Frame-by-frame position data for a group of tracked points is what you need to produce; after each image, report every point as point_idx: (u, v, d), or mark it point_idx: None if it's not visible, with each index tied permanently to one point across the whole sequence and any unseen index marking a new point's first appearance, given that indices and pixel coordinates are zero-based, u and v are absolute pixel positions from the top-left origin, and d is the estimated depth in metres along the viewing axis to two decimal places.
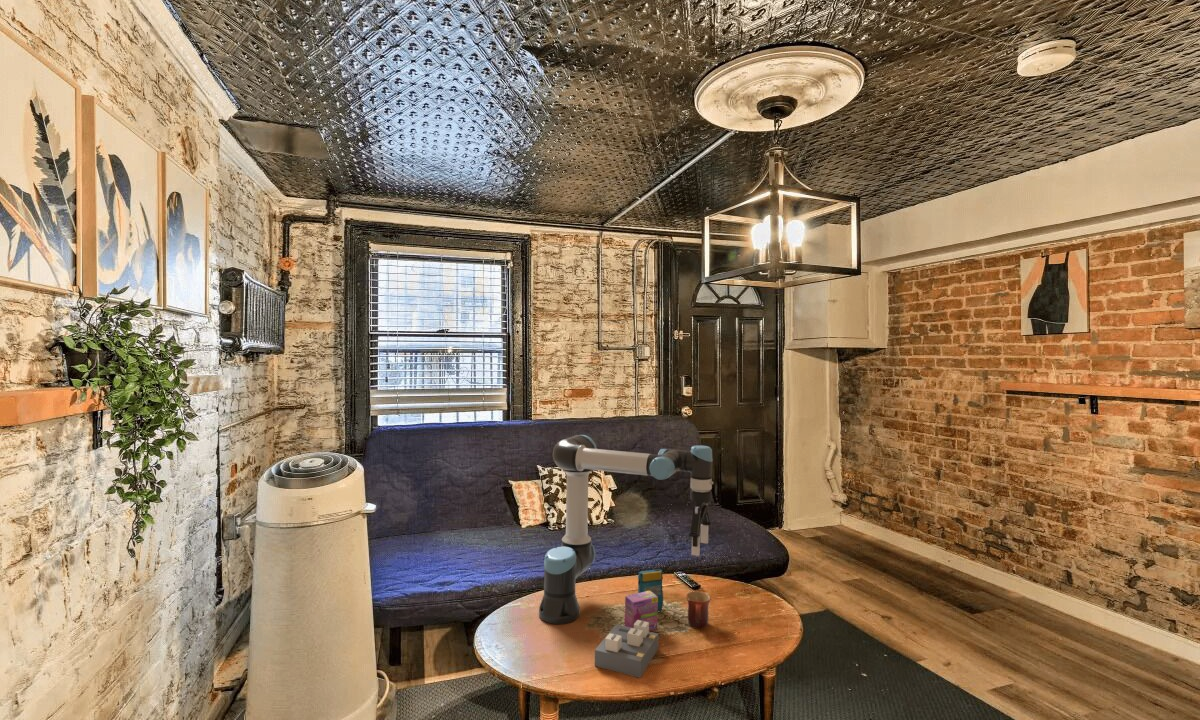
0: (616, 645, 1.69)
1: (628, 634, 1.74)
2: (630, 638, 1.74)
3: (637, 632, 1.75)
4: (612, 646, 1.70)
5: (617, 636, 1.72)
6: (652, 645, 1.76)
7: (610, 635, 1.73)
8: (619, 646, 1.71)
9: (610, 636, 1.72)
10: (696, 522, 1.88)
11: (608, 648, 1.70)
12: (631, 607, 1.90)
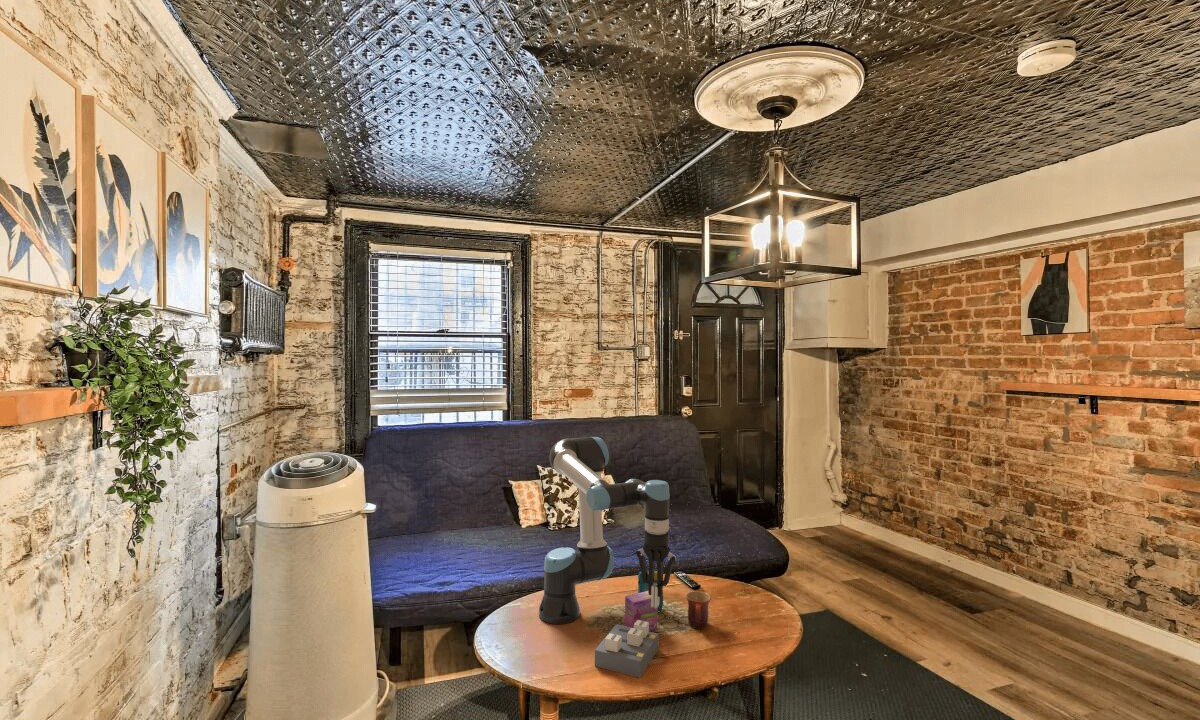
0: (616, 645, 1.69)
1: (628, 634, 1.74)
2: (630, 638, 1.74)
3: (637, 632, 1.75)
4: (612, 646, 1.70)
5: (617, 636, 1.72)
6: (652, 645, 1.76)
7: (610, 635, 1.73)
8: (619, 646, 1.71)
9: (610, 636, 1.72)
10: None
11: (608, 648, 1.70)
12: (631, 607, 1.90)
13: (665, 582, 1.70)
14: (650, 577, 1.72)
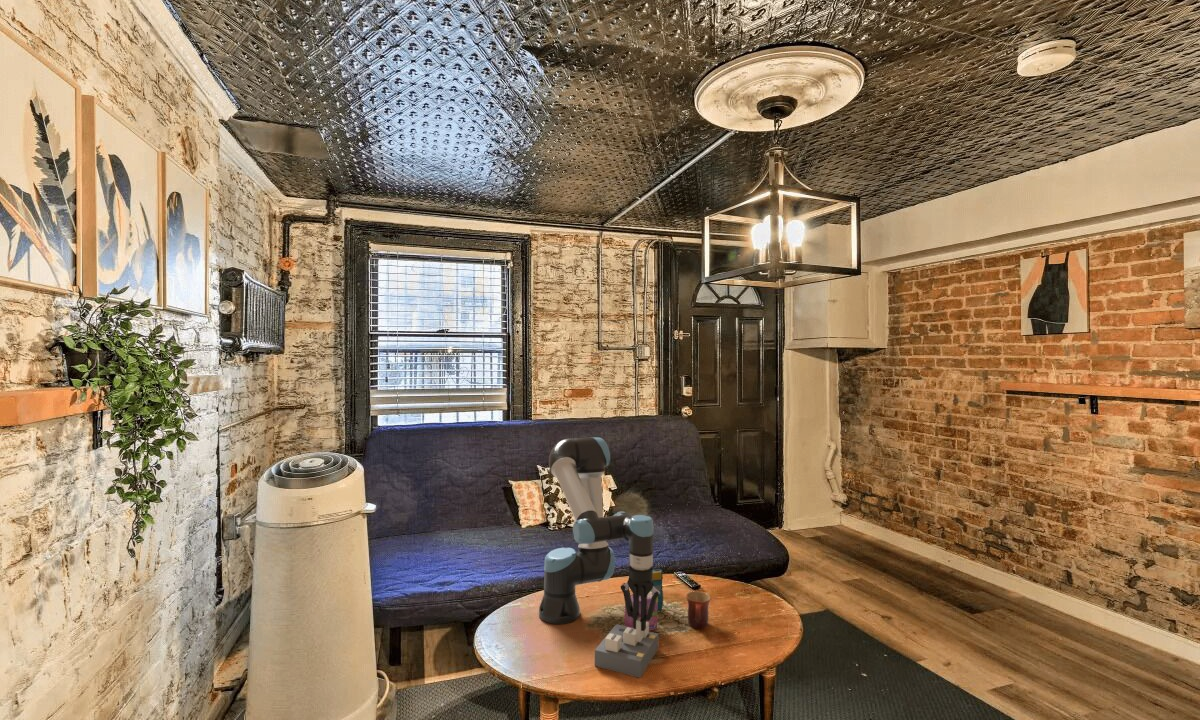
0: (616, 645, 1.69)
1: (624, 633, 1.75)
2: (626, 637, 1.74)
3: (633, 631, 1.75)
4: (612, 646, 1.70)
5: (617, 636, 1.72)
6: (652, 645, 1.76)
7: (610, 635, 1.73)
8: (619, 646, 1.71)
9: (610, 636, 1.72)
10: None
11: (608, 648, 1.70)
12: None
13: (648, 617, 1.72)
14: (635, 611, 1.74)
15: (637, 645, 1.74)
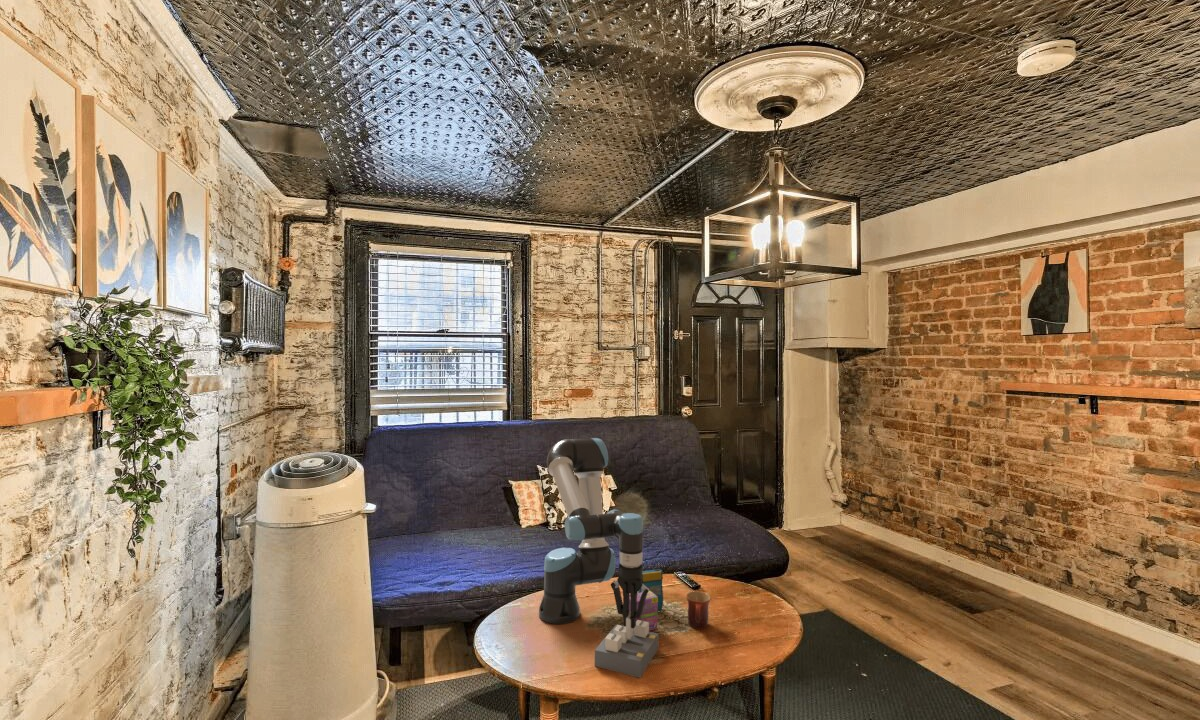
0: (616, 645, 1.69)
1: (614, 631, 1.76)
2: None
3: (623, 629, 1.77)
4: (612, 646, 1.70)
5: (617, 636, 1.72)
6: (652, 645, 1.76)
7: (610, 635, 1.73)
8: (619, 646, 1.71)
9: (610, 636, 1.72)
10: None
11: (608, 648, 1.70)
12: None
13: (638, 614, 1.73)
14: (625, 609, 1.75)
15: (637, 645, 1.74)
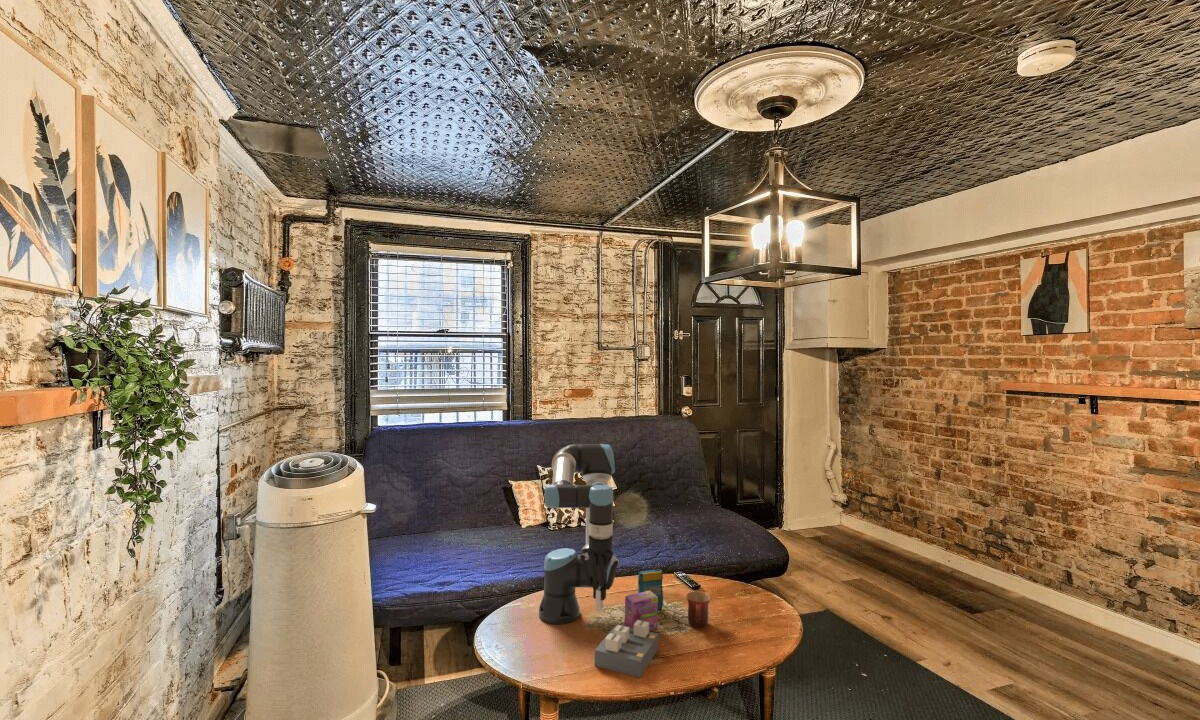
0: (616, 645, 1.69)
1: (614, 631, 1.76)
2: None
3: (623, 629, 1.77)
4: (612, 646, 1.70)
5: (617, 636, 1.72)
6: (652, 645, 1.76)
7: (610, 635, 1.73)
8: (619, 646, 1.71)
9: (610, 636, 1.72)
10: None
11: (608, 648, 1.70)
12: (631, 607, 1.90)
13: (608, 586, 1.72)
14: (594, 581, 1.74)
15: (637, 645, 1.74)
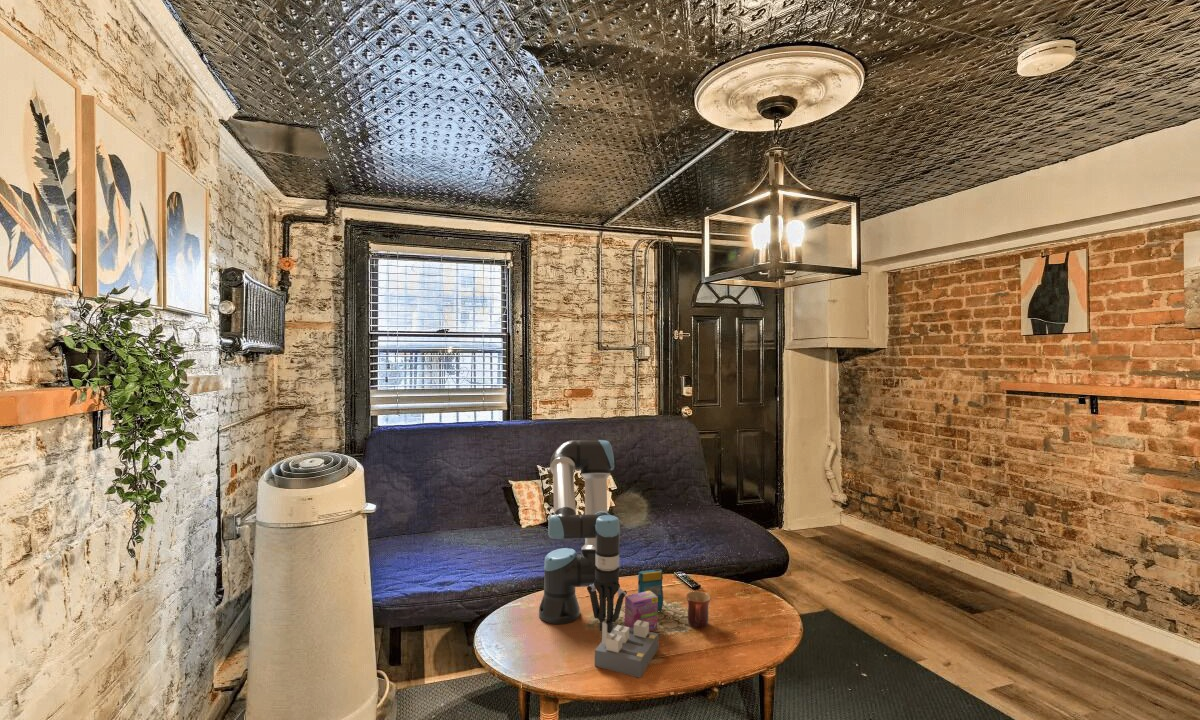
0: (617, 645, 1.69)
1: (614, 631, 1.76)
2: None
3: (623, 629, 1.77)
4: (613, 646, 1.70)
5: (618, 636, 1.72)
6: (652, 645, 1.76)
7: (611, 635, 1.73)
8: (620, 646, 1.71)
9: (611, 636, 1.72)
10: None
11: (609, 648, 1.70)
12: (631, 607, 1.90)
13: (614, 618, 1.70)
14: (601, 613, 1.72)
15: (637, 645, 1.74)
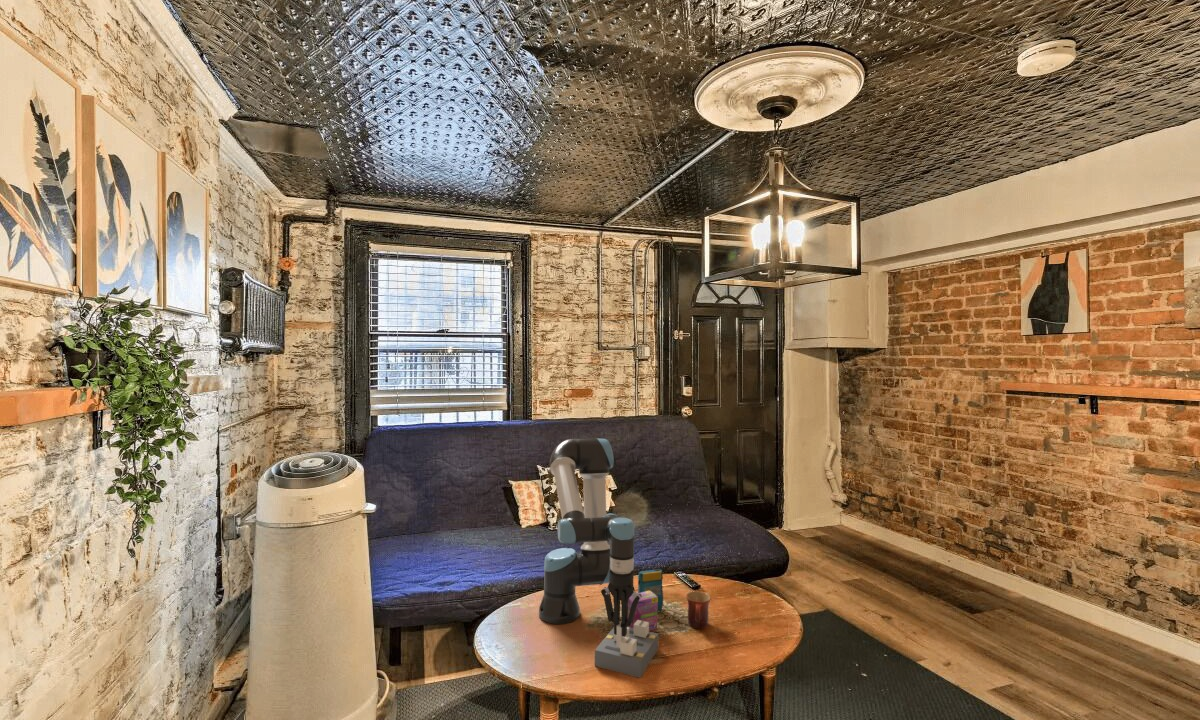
0: (631, 649, 1.67)
1: None
2: (616, 635, 1.76)
3: None
4: (627, 649, 1.68)
5: (632, 640, 1.70)
6: (652, 645, 1.76)
7: (625, 639, 1.71)
8: (634, 650, 1.69)
9: (625, 640, 1.70)
10: None
11: (623, 652, 1.68)
12: None
13: (629, 622, 1.68)
14: (615, 616, 1.70)
15: (637, 645, 1.74)
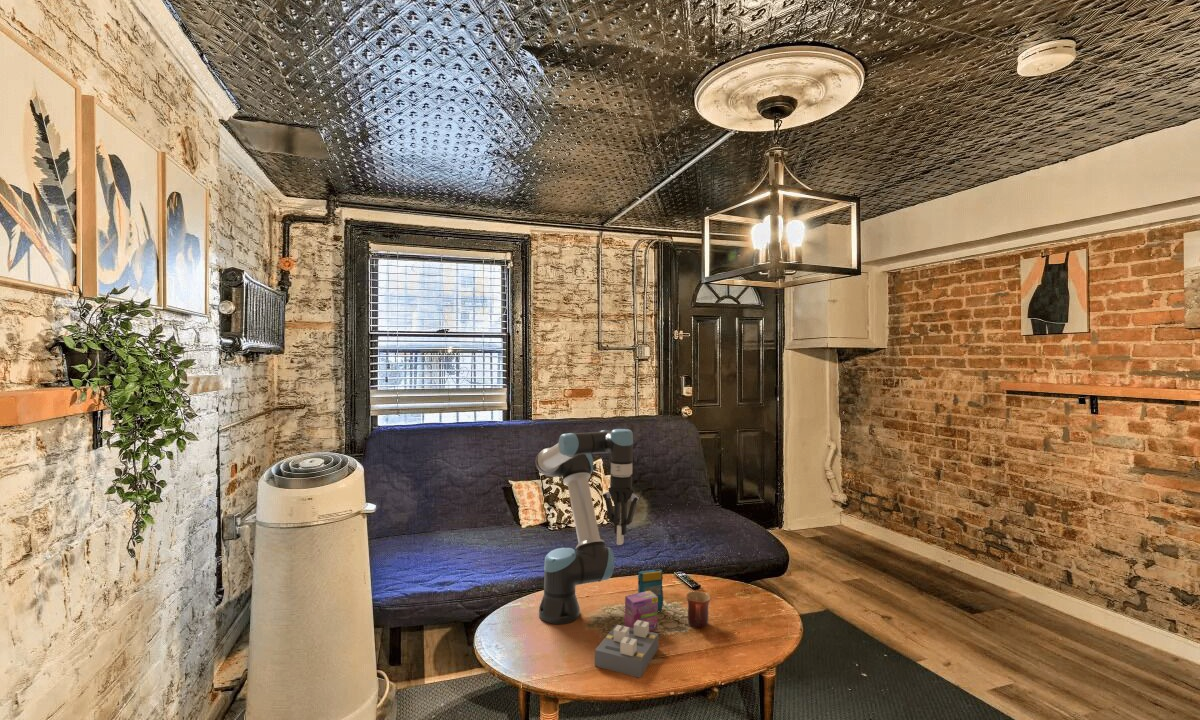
0: (631, 649, 1.67)
1: (614, 631, 1.76)
2: (616, 635, 1.76)
3: (623, 629, 1.77)
4: (627, 649, 1.68)
5: (632, 640, 1.70)
6: (652, 645, 1.76)
7: (625, 639, 1.71)
8: (634, 650, 1.69)
9: (625, 640, 1.70)
10: None
11: (623, 652, 1.68)
12: (631, 607, 1.90)
13: (628, 521, 1.85)
14: (616, 517, 1.87)
15: (637, 645, 1.74)
